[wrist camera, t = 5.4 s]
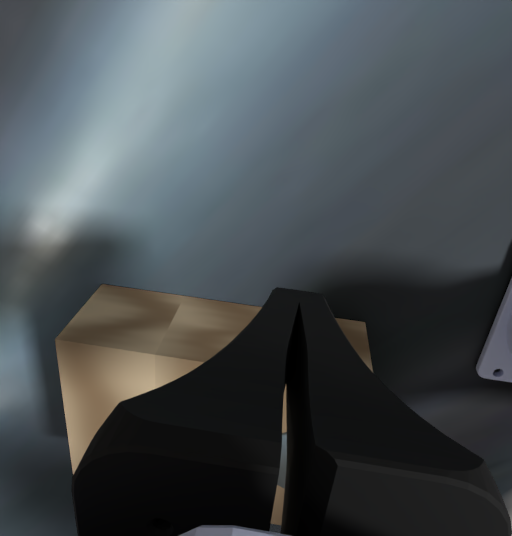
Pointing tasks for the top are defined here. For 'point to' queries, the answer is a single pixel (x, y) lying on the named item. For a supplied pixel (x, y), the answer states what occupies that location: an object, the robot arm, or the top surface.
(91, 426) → the socket block
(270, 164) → the top surface
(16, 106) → the top surface
